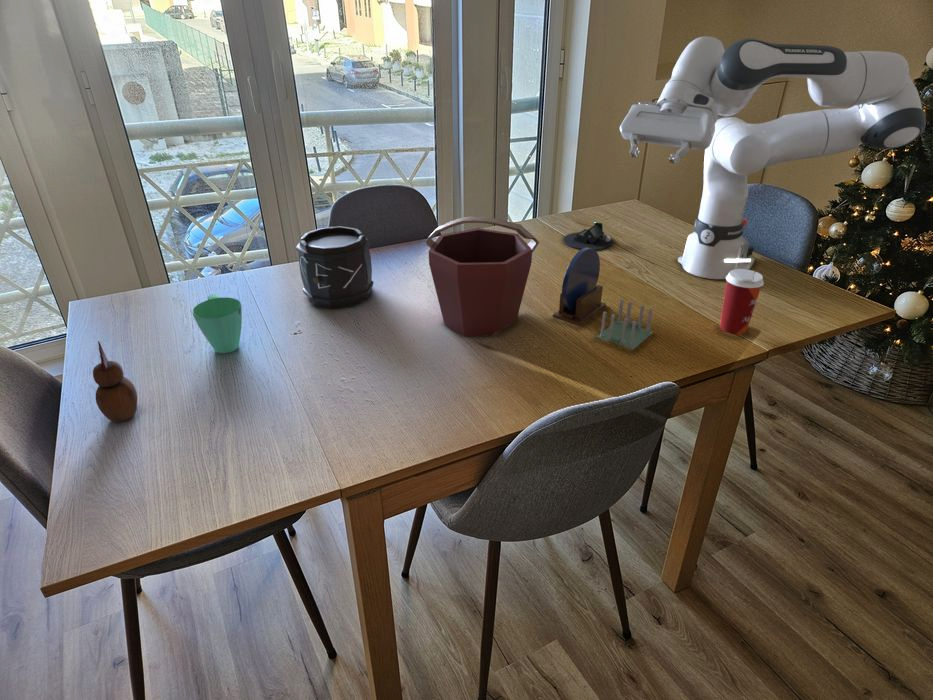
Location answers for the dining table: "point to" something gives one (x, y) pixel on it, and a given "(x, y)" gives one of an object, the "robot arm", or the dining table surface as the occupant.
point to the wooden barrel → (335, 266)
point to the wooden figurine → (114, 390)
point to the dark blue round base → (589, 238)
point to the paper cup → (740, 300)
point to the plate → (580, 276)
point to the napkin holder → (582, 307)
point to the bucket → (480, 274)
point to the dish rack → (626, 328)
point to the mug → (220, 322)
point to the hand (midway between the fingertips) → (652, 158)
